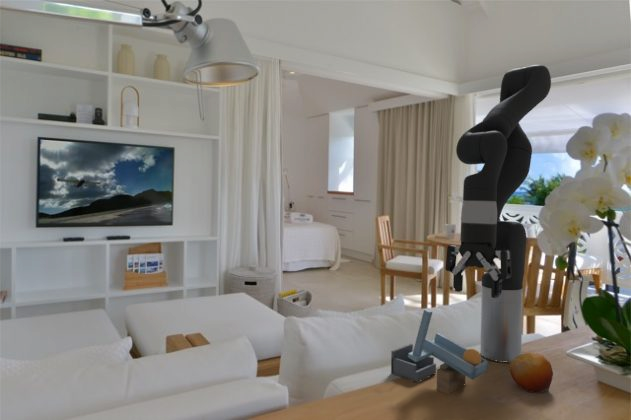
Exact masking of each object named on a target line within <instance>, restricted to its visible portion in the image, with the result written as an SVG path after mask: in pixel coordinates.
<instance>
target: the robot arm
mask: <svg viewBox="0 0 631 420" xmlns="http://www.w3.org/2000/svg"><path fill="white" fill-rule="evenodd" d="M551 77H552V76H551V73H550V71H549V69H548V67H547V66H546V65H543V64H532V65H528V66H523V67H518V68H513V69H510V70H508V71H506V72H505V74H504V75H503V77H502V80H501V86H500V93H499V103H497V104H496V105H495V106H494V107H492V108H491V109H490V111H489V112H488V113H487V115H485V117H484V118H483V120H482V121H480V122H478V123H477V124H475V125H474V126H472V127H471V128H469V129H468V130H467V131H465V132H464V133H463V134H462V135H461V136H460V137H459V138H458V141H457V143H456V144H457V145H456V149H455V152H456V156H457V158H458V160H459V161H460V162H461V163H463V164H466V165H483V167H481V170H480V171H479V172H477V173H473V174H470V175H467V176H466V177H464V179H463V190H462V205H461V206H462V207H461V213H460V236H459V237H460V246H457V245H456V244H454V245H453V244H452V245H448V246H447V249H446V257H445V259H446V260H445V270H446V272H450V273H451V274H452V276H453V279H452V280H453V281H452V282H453V283H452V284H453V285H452V287H453V289H454V291H455V292H458V293H460V292H462V291H463V287H464V285H463V283H464V275H463V272H465V270H466V269H467V268H469V267H472V268H473V267H476V268H479V269H481V268H482V269H485V273H483V274H482V276H481V295H480V296H481V300H480V301H481V306H480V307H481V309H480V310H481V311H480V352H479V353H480V355H481V357H483V356H484V357H483V358H485V357H486V358H485V359H487V358H488V359H487V360H489V359H492V360H491V361H493V360H497V361H507V362H511V361H512V360H513V359H515V358H516V357H517V356H519V355H521V354H522V342H523V341H522V338H523V337H522V335H523V332H522V331H523V290H524V289H523V287H524V285H523V284H524V278H525V277H524V276H525V266H526V265H525V264H526V253H527V252H526V251H527V250H526V249H527V233H526V232H527V231H526V227H525V226H524V225H523V224H522V223H521V222H518V221H512V220H511V221H505V220H500V218H501V214H502V211H503V209H504V207H505V205H506V203H507V202H508V201H509V199H510V198H511V197H512V195H514V194H515V192H516V191H518V190H519V188H520V187H521V185H522V184H523V183H524V182H525V181H526V179H527V177H528V176H529V172H530V170H531V169H530V168H531V163H532V155H533V147H532V143H531V141H530V139H529V137H528V136H527V134H526V133H525V131H524V130H523V128H522V126H521V124H520V122H521V120H523V118H524V117H526V115H528V114H529V113H530V112H531V111H532V110H533V109H534V108H535V107H537V106H538V105H539V104H540V103H541V102H543V101H544V100H545V99H546V98H547V96H548V95H549V93H550V91H551V86H552V78H551ZM458 255H460V256H461V258H460V259H459V261H458V262H457V257H458ZM495 259H498V260H499V261H500V268H499V266H498V265H497V263H496V261H495ZM497 361H496V362H497Z"/></svg>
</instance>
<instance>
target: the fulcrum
mask: <svg viewBox="0 0 631 420" xmlns="http://www.w3.org/2000/svg"><path fill="white" fill-rule="evenodd" d="M439 366H440V367H439V369H436V390H437V389H438V390H437V391H439V390H440V391H439V392H442V391H443V392H442V393H444V394H447V395H449V394H450V393H453V392H454V391H456V390H458V389H460V388H462V387H463V386H465V385H466V382H467V381H466V380H467V379H466V378H467V376H465V375H463V374H462V373H460V372H458V371H457V370H455V369H454V368H452V367H450V366H449V365H447V364H445V363H444V362H443V363H441V364H440V365H439ZM464 384H465V385H464ZM462 385H463V386H462ZM459 387H460V388H459Z"/></svg>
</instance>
